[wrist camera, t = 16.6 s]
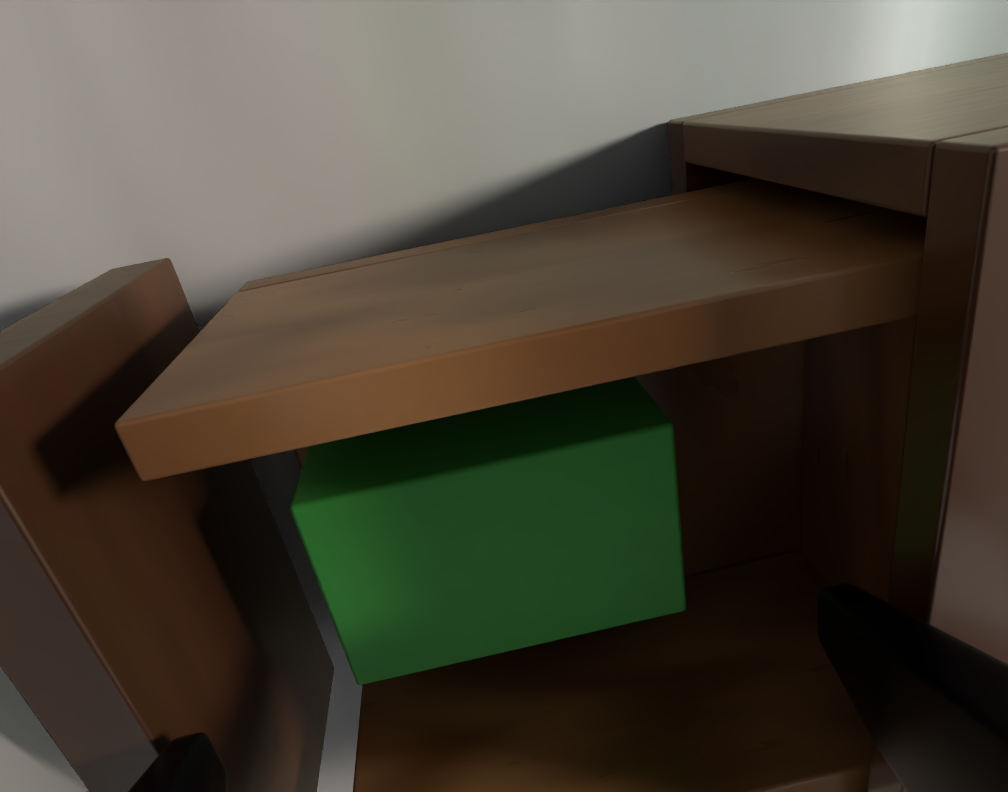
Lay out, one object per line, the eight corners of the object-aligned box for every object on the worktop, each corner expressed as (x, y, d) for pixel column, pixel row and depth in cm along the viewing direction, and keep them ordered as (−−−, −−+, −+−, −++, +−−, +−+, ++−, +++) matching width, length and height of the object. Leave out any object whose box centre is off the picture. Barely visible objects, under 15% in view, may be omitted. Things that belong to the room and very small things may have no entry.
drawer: (78, 726, 17) (-105, 1066, 11) (-189, 329, 13) (-769, 548, 6) (805, 560, 18) (1003, 795, 12) (818, 126, 13) (1164, 148, 7)
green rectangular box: (637, 516, 15) (688, 612, 13) (367, 576, 15) (356, 688, 12) (620, 355, 14) (674, 423, 11) (314, 420, 13) (286, 507, 11)
